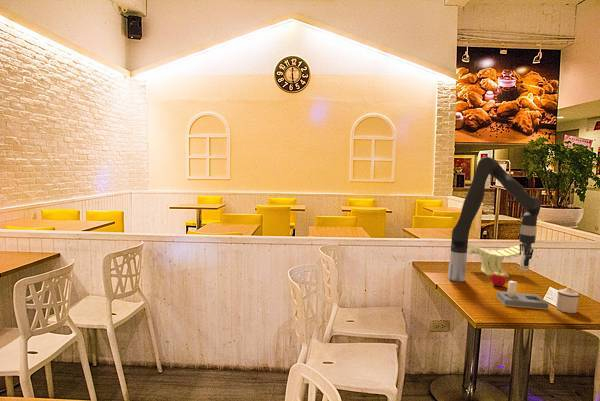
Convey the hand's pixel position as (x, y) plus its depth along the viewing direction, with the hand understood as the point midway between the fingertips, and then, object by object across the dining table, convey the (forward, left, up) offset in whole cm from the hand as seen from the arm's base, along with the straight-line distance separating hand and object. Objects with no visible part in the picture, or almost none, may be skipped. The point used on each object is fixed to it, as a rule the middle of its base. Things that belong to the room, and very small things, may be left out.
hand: (524, 264), depth 225 cm
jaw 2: (0, 0, -3) cm, 3 cm away
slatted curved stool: (-2, +44, -17) cm, 47 cm away
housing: (-5, -14, -17) cm, 22 cm away
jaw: (-10, -14, -16) cm, 23 cm away
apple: (-8, +14, -17) cm, 23 cm away
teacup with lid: (+14, -18, -17) cm, 28 cm away
